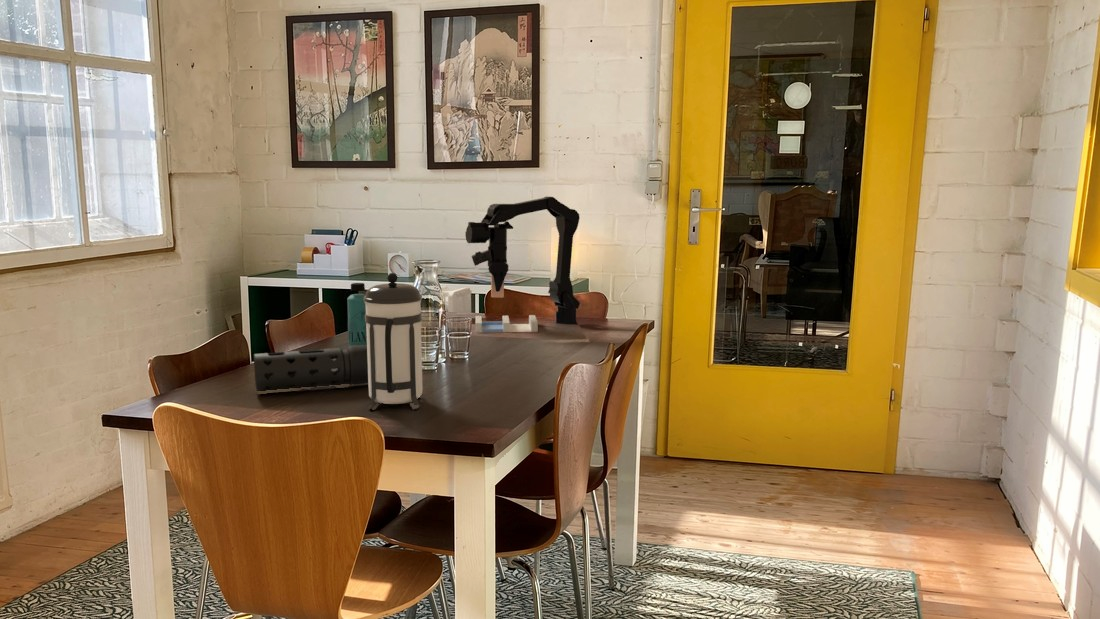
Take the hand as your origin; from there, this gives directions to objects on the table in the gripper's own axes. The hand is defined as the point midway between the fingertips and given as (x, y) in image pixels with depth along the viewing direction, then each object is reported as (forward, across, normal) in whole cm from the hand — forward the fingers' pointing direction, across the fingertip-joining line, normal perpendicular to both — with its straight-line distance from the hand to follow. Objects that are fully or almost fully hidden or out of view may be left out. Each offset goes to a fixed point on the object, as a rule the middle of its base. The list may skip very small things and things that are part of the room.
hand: (497, 290), depth 281 cm
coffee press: (+15, +88, -25) cm, 93 cm away
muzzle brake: (+15, +72, -46) cm, 87 cm away
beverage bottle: (+15, +26, -41) cm, 51 cm away
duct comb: (+14, 0, +3) cm, 14 cm away
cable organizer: (+14, -22, -16) cm, 30 cm away
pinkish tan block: (+2, 0, 0) cm, 2 cm away
